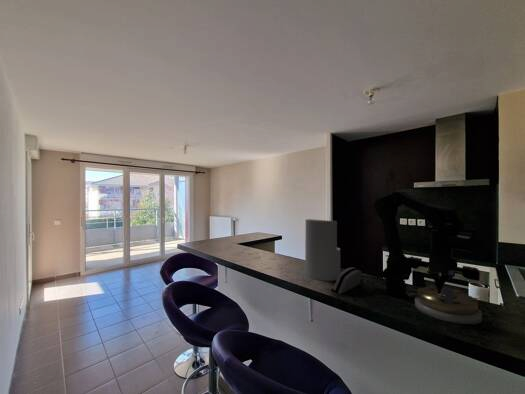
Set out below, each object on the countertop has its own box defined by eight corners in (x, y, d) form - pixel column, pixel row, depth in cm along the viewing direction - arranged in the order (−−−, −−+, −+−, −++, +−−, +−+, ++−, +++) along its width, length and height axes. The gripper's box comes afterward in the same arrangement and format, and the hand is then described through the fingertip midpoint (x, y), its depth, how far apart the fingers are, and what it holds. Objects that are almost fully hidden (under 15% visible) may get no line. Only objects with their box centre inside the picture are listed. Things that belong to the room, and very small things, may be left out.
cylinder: (325, 283, 109) (325, 221, 110) (298, 273, 123) (298, 219, 124) (347, 276, 119) (347, 220, 120) (320, 268, 133) (320, 218, 134)
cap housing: (417, 296, 94) (417, 291, 94) (479, 309, 82) (479, 303, 83) (411, 312, 80) (411, 306, 80) (485, 330, 68) (485, 323, 68)
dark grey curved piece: (348, 282, 111) (355, 263, 109) (357, 288, 107) (364, 268, 105) (329, 290, 99) (336, 269, 97) (339, 297, 96) (347, 276, 94)
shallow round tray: (417, 292, 92) (417, 274, 92) (472, 301, 84) (471, 281, 84) (418, 306, 79) (418, 285, 79) (483, 319, 70) (482, 295, 70)
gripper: (403, 243, 77) (401, 291, 77) (481, 255, 65) (479, 312, 65) (410, 240, 86) (407, 283, 86) (479, 250, 74) (477, 300, 74)
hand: (439, 294), depth 77 cm, fingers closed
